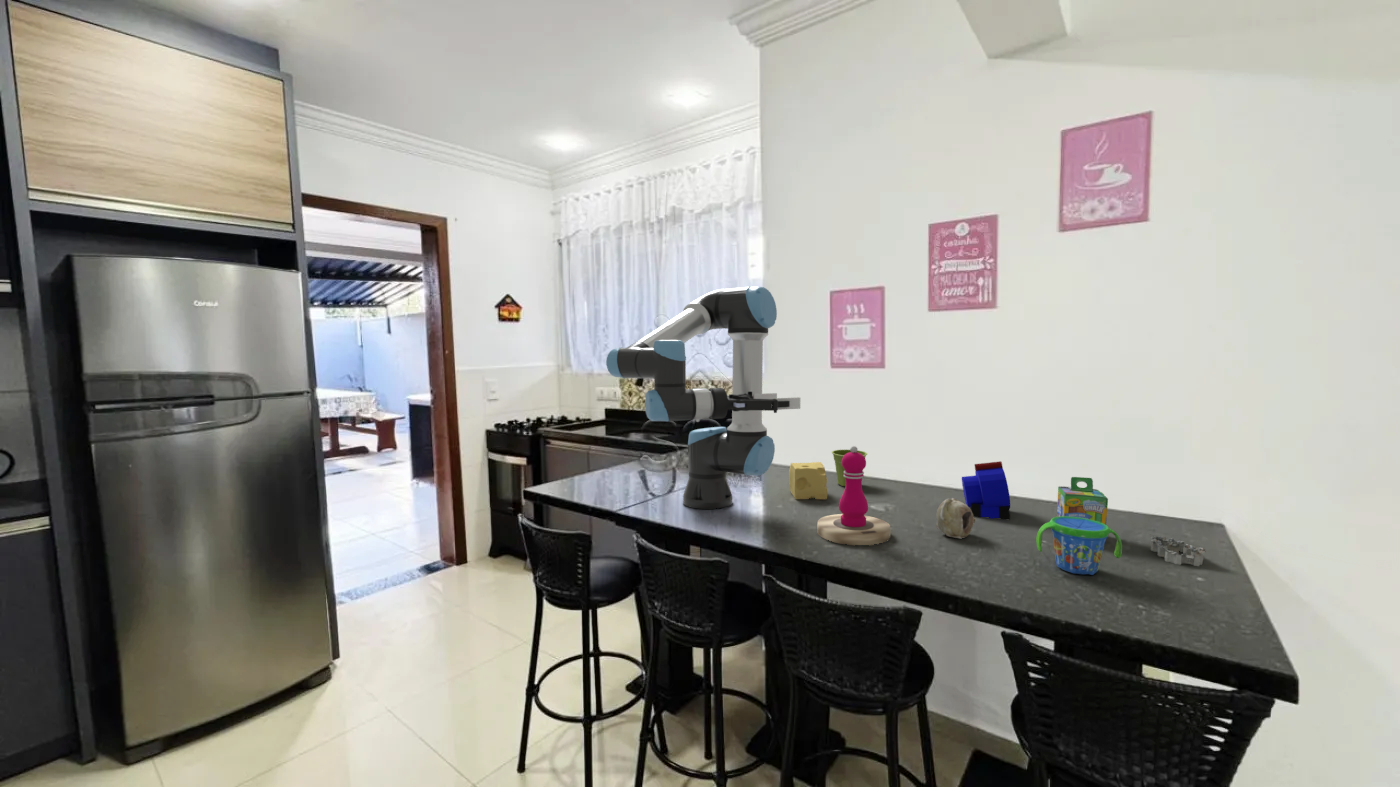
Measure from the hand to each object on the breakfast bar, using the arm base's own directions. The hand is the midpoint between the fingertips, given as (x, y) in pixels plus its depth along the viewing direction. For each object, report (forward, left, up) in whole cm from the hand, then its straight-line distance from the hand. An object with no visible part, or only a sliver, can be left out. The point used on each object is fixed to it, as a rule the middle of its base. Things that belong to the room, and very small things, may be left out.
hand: (787, 400), depth 151 cm
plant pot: (-38, +42, -34) cm, 66 cm away
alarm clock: (+3, +61, -34) cm, 70 cm away
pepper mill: (+8, +15, -32) cm, 36 cm away
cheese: (-30, +22, -34) cm, 50 cm away
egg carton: (+45, +74, -34) cm, 93 cm away
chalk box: (+28, +67, -34) cm, 80 cm away
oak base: (+8, +15, -34) cm, 38 cm away
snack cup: (+44, +47, -34) cm, 73 cm away
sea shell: (+17, +39, -34) cm, 54 cm away
